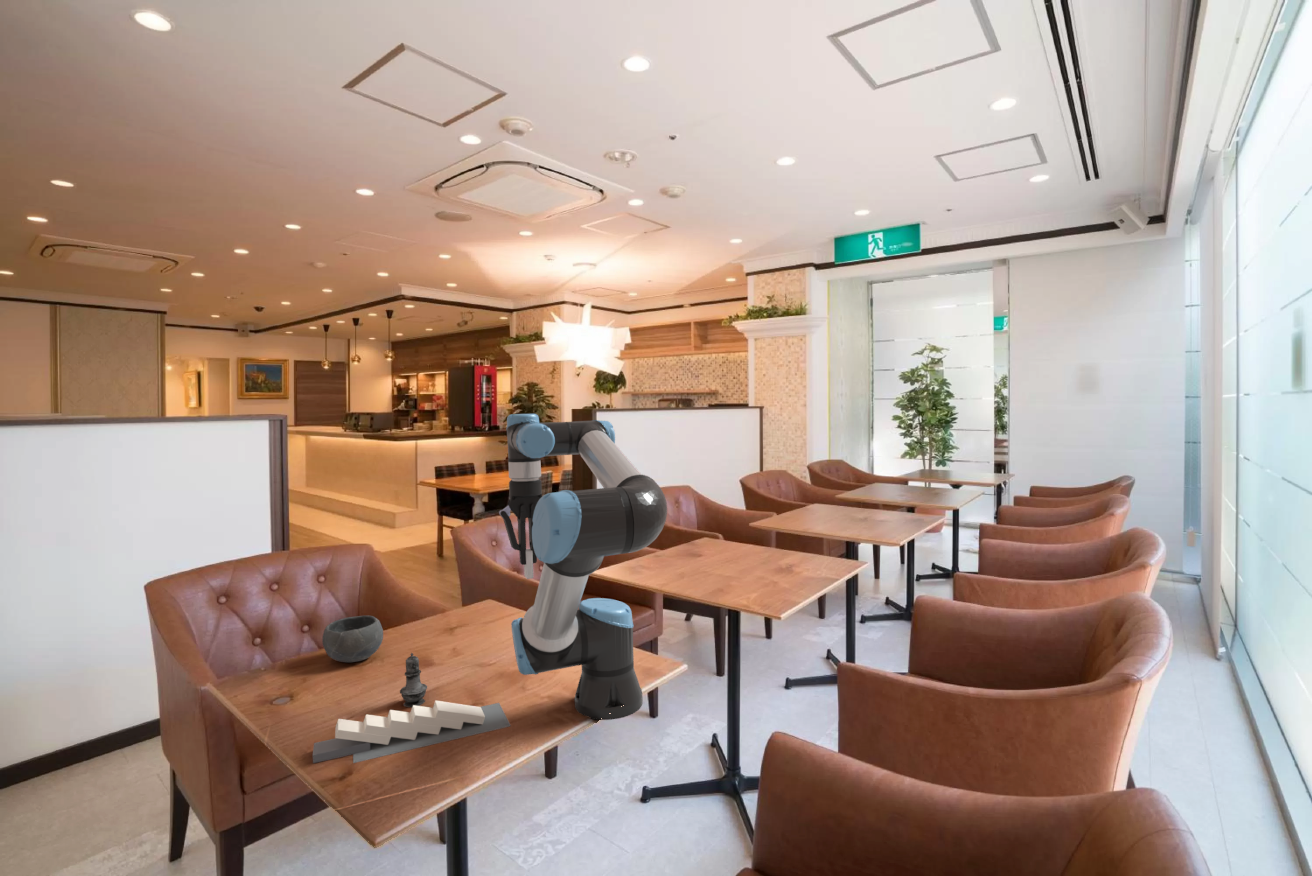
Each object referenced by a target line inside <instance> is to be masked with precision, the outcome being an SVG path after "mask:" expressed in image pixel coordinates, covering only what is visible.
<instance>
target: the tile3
mask: <svg viewBox="0 0 1312 876" xmlns="http://www.w3.org/2000/svg"><path fill="white" fill-rule="evenodd" d="M386 717H387V719H388V727H389V728H391V729H399V730H406V731H414V732H422V733H429V734H437V735H438V734H439V732H440V729H441V727H438V726H431V725H423V724H416V723H412V718H411V713H410V712H408V711H402V710H394V709H389V711H388V715H387V716H386Z"/></svg>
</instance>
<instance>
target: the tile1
mask: <svg viewBox="0 0 1312 876" xmlns="http://www.w3.org/2000/svg"><path fill="white" fill-rule="evenodd" d="M481 707H482V706H477V705H476V706H475V705H469V704H461V703H457V702H448V701H442V700H436V699H435V700H434V704H433V707H432V708H433V710H434V714H435V718H439V719H447V720H454V721H461V722H468V723H476V724H483V722H484V719H485V715H484V713H483V711H482V709H481Z"/></svg>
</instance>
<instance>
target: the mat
mask: <svg viewBox="0 0 1312 876" xmlns="http://www.w3.org/2000/svg"><path fill="white" fill-rule="evenodd" d="M480 707H481V709H482V711H483V713H484V715H485V719H484V722H483V724H476V723H468V722H463V725H462V728H461V729H453V728H446V727H441V729H440V732H439V734H438V735H437V734H429V733H422V732H418V733H417V736H416V738H415V740H412V739H404V738H397V737H391V738H390V741H389V744H388V745H386V744H378V743H370V750H369V751H365V752H361V753H356V754H352V762H353V763H352V764H357V763H360V762H365V761H369V760H373V759H378V758H382V757H385V756H390V755H395V754H397V753H398V754H399V753H402V752H403V753H404V752H407V751H412V750H415V749H419V748H424V747H428V746H431V745H436V744H442V743H446V742H449V741H455V740H458V739H462V738H467V737H470V736H475V735H479V734H480V735H481V734H483V733H484V734H485V733H488V732H492V731H496V730H500V729H504V728H509V727H512V725H511V723H510V722H509V719H508V718H507V716H506V713H505V711H504V709H503V708H502V705H501V704H500V702H497V703H496V702H495V703H491V704H488V705H487V704H486V705H482V706H480Z"/></svg>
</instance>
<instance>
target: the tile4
mask: <svg viewBox="0 0 1312 876" xmlns="http://www.w3.org/2000/svg"><path fill="white" fill-rule="evenodd" d="M387 717H388V716H383V715H382V716H380V715H374V714H365V717H364V720H363V721H362V722H363V726H364V733H367V734H374V735H382V736H389V737H397V738H404V739H412V740H415V738H416V736H417V733H418V732H414V731H406V730H399V729H391V728H389V727H388V719H387Z"/></svg>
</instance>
